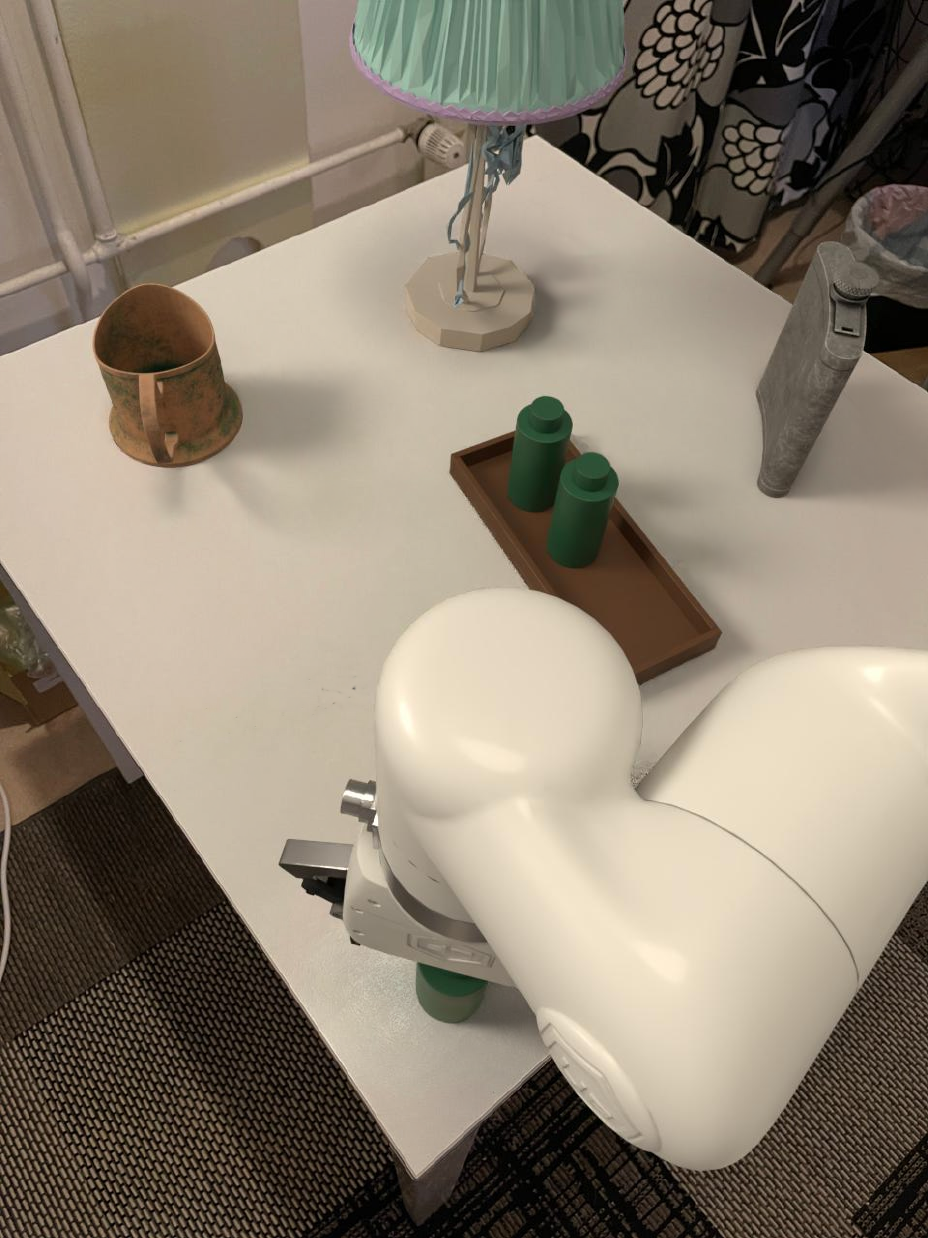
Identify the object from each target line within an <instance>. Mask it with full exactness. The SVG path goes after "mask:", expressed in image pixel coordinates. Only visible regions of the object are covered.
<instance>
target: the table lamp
mask: <svg viewBox="0 0 928 1238" xmlns="http://www.w3.org/2000/svg"><path fill="white" fill-rule="evenodd" d="M624 12H625V11H624V2H623V0H358V1H357V8H356V13H355V16H354V19H353V21H352V22H351V23H352V24H351V28H350V31H349V37H348V42H349V43H348V45H349V52H350V55H351V60H352V61H353V64H354V66H355V68H356V69H357V71H358V72H359V73H360V75H361V76H362V77H363V78H364V79H365V81H366V82H367V83H368V84H370V85H371V87H373V88H374V89H376V90H377V91H378V92H379V93H382V94H383V95H384V96H386V97H387V98H389V99H390V100H393V101H394V102H396V103H398V104H400V105H401V106H405V107H407V108H410V109H411V110H415V111H416V112H419V113H423V114H426V115H429V116H433V117H435V118H440V119H444V120H448V121H449V120H450V121H453V122H459V123H464V124H467V131H468V139H469V146H470V153H469V159H468V166H467V172H466V180H465V186H464V192H463V196H462V198H461V199H460V201H459V202H458V204H457V209H456V211H455V212H454V213H453V215H452V216H451V217H450V219H449V221H448V223H447V225H446V228H445V229H446V235H447V240H448V244H451V245H452V244H455V247H456V250H457V251H455V252H449V253H444V254H439V255H433V256H427V258H426V259H425V260H424V262H423V263H422V264H421V265H420V267H419V268H418V269H417V270H416V271H415V272H414V274H413V275H412V276H411V277H410V278H409V280H407V282H406V283H405V312H406V314H407V316H408V317H409V320H410V321H411V323H412V324H413V326H414V328H415V330H416V331H417V332H418V333H420V334H421V335H423V336H425V337H426V338H428V339H429V340H431V341H432V342H433V343H435V344H436V345H438V346H440V347H446V348H452V349H459V350H466V351H472V352H478V353H481V352H484V351H487V350H491V349H494V348H498V347H501V346H504V345H508V344H511V343H513V342H516V341H517V340H518V339H519V337H520V336H521V335H522V333H523V332H524V331H525V329H526V328H527V327H528V325H529V324H530V322H531V321H533V319H534V305H535V285H534V284H533V282H532V281H531V280H530V279H529V278H528V277H527V276H526V275H525V273H524V272H523V271H522V270H520V268H519V267H518V266H517V264H515V262H513V260H511V259H507V258H503V257H500V256H496V255H492V254H488V253H485V252H484V251H485V246H486V240H487V239H486V237H487V232H488V227H489V221H490V215H491V211H492V206H493V205H492V203H493V194H494V193H495V192H496V191H497V189H498V186H499V184H500V181H501V179H500V175H501V176H502V178H503V180H504V182H505V185H506V186H507V187H508V186H510V185H511V184H512V183H513V181H514V180H516V179H517V178H518V176H519V175H521V170H522V164H523V156H522V155H523V153H522V152H523V147H524V139H525V135H526V130H527V125H537V124H544V123H549V122H554V121H555V122H556V121H559V120H563V119H566V118H570V117H574V116H575V115H578V114H581V113H583V112H586V111H588V110H590V109H591V108H593V107H596V106H597V105H599V104H600V103H602V102H603V101H605V100H606V99H607V98H609V97H610V96H611V95H612V94H613V93H614V92H615V91H616V89H617V88H618V86H619V85H620V83H621V81H622V80H623V77H624V75H625V71H626V70H627V62H628V53H627V47H626V41H625V26H626V25H625V24H626V21H625V13H624ZM505 126H507V127H508V126H509V127H510V126H511V127H512V126H514V127H515V129H514V132H512V133H510V134H508V132H507V129H506V128H505ZM500 132H502V133H500ZM473 139H474V141H473ZM495 149H496V150H497V149H498V153H496V152H494V151H493V150H495ZM486 164H487V165H486ZM486 166H487V168H486ZM486 175H487V180H486V181H487V183H486V185H485V177H486ZM462 211H463V212H462ZM461 212H462V218H461V223H460V231H459V240H458V239H452V231H453V224H454V222H455V220H456V218H457V217H458V215H459V214H460V213H461Z"/></svg>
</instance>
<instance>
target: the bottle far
mask: <svg viewBox="0 0 928 1238" xmlns="http://www.w3.org/2000/svg"><path fill="white" fill-rule="evenodd" d="M573 428H574V423H573V418H572V416H571V415H570V413H569V412H568V411H567V410H566V409H565V406H564V404H563V403H562V401H560V400H559V399H558V398H557V397H553V396H550V395H542V396H539V397H538V396H537V397H536V398H535V399H533V400H532V402H531V403H530V404H528V405H526V406H524V407H523V408H522V409H521V410H520V412H519V413H518V415H517V418H516V423H515V430H514V431H515V437H514V444H513V451H512V459H511V466H510V473H509V480H508V487H507V494H508V497H509V499H510V501H511V502H512V503H513V504H514V505H515V506H516V507H518V508H519V509H522V510H524V511H528V512H541V511H545V510H547V509H549V508H551V507H552V506H553V505H554V504H555V499H556V494H557V489H558V485H559V480H560V475H561V471H562V469H563V468H564V465H565V461H566V456H567V451H568V447H569V442H570V441H571V438H572V437H571V436H572V433H573Z"/></svg>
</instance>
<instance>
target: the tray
mask: <svg viewBox="0 0 928 1238" xmlns="http://www.w3.org/2000/svg"><path fill="white" fill-rule="evenodd" d="M514 437H515V430H513V431H510V432H507V433H504V434H502V435H499V436H497V437H493V438H490V439H488V440H485V441H483V442H480V443H477V444H474V445H471V446H469V447H466V448H463V449H461V450H458V451H454V452H452V453H451V454H450V460H449V474H450V475H451V477H452V478H453V479H454V482H456V484H457V486H458V487H459V488H460V490H461V491H462V493H463V494H464V495H465V497H466V499H467V500H468V502H469V503H470V505H471V506H472V507H473V509H474V510H475V511H476V513H477V514H478V516H479V517H480V519H481V521H482V522H483V523H484V525H485V526H486V527H487V529H488V531H489V532H490V534H491V535H492V536H493V538H494V539H495V541H496V542H497V544H498V545H499V546H500V548H501V549H502V551H503V553H504V554H505V555H506V557H507V558H508V560H509V561H510V563H511V564H512V565H513V567H514V568H515V570H516V571H517V572H518V574H519V576H520V577H521V578H522V580H523V582H524V583H525V584H526V586H527V588H528V589H529V590H535V591H539V592H542V593H546V594H549V595H552V596H555V597H558V598H560V599H562V600H564V601H566V602H568V603H570V604H572V605H574V606H576V607H578V608H579V609H581V610H582V611H584V612H585V613H587V614H588V615H590V616H591V617H592V618H594V619H595V620H596V621H597V622H598V623H599V624H601V625H602V626H603V627H604V628H605V629H606V630H607V631H608V632H609V633H610V634H611V635H612V637H613V638H614V639H615V641H616V642H617V643H618V645H619V646H620V647H621V649H622V650H623V652H624V654H625V655H626V657H627V659H628V661H629V663H630V665H631V667H632V669H633V672H634V675H635V678H636V681H637V684H638V686H640V685H641V684H644V683H645V682H648V681H650V680H652V679H654V678H656V677H658V676H660V675H662V674H664V673H666V672H669V671H670V670H672V669H674V668H677V667H678V666H679V667H680V666H681V665H683V664H685V663H687V662H689V661H691V660H693V659H695V658H697V657H699V656H702V655H703V654H705V653H708V652H710V651H712V650H713V649H715V647H716V646H717V644H718V642H719V640H720V639H721V637H722V635H723V633H724V632H723V630H722V629H720V626H719V625H717V623H716V622H715V621H714V620H713V618H712V617H711V616H710V613H708V612H707V611H706V609H705V608H704V607H703V606H702V604H701V603H700V601H698V599H697V598H696V597H695V595H694V594H693V593H692V592H691V590H690V589H689V588H688V587H687V586H686V584H685V583H684V581H683V580H682V579H681V577H679V575H678V574H677V573H676V571H675V570H674V569H673V568H672V566H671V565H670V564H669V562H668V561H667V560H666V559H665V558H664V556H663V555H662V554H661V553H660V551H659V550H658V549H657V548H656V546H655V545H654V544H653V543H652V542H651V540H650V539H649V537H648V536H647V535H646V533H645V532H644V531H643V530H642V529H641V527H640V526H639V525H638V524H637V522H636V521H635V520H634V519H633V518H632V517H633V516H631V515H630V514H629V512H628V511H627V510H626V509H625V507H624V506H623V505H622V504H621V502H620V501H619V500H618V498H617V497H616V496H615V499H614V502H613V506H612V509H611V513H610V516H609V519H608V523H607V526H606V530H605V533H604V536H603V540H602V543H601V547H600V550H599V553H598V556H597V558H596V559H595V560H594V561H593V562H592V563H591V564H589V565H587V566H585V567H581V568H569V567H565V566H562V565H560V564H558V563H557V562H556V561H554V560H553V559H552V558H551V556H550V555H549V553H548V551H547V548H546V542H547V537H548V532H549V527H550V523H551V518H552V513H553V508H554V505H553V506H552V507H551V508H549V509H547V510H545V511H541V512H528V511H524V510H522V509H519V508H518V507H516V506H515V505H514V504H513V503H512V502H511V501H510V499H509V497H508V494H507V487H508V480H509V473H510V466H511V459H512V451H513V444H514ZM582 454H583V453H581V451H580V450H579V449H578V448H577V447H576V445H575V444H574V443H573V442H572V440H570V442H569V447H568V451H567V456H566V461H565V465H566V464H567V463H569V462H570V461H572V460H574V459H577V458H578V457H579V456H580V455H582ZM565 465H564V466H565Z"/></svg>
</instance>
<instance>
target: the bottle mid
mask: <svg viewBox="0 0 928 1238" xmlns="http://www.w3.org/2000/svg"><path fill="white" fill-rule="evenodd" d="M581 454H582V455H580V456H579V457H578V458H577V459H574V460H572V461H570V462H569V463H567V464H566V465H565V466H564V468H563V469H562V471H561V475H560V480H559V485H558V489H557V494H556V499H555V504H554V508H553V513H552V518H551V523H550V527H549V532H548V537H547V542H546V548H547V551H548V553H549V555H550V556H551V558H552V559H553V560H554V561H556V562H557V563H558V564H560V565H562V566H565V567H569V568H581V567H585V566H587V565H589V564H591V563H592V562H593V561H594V560H595V559H596V558H597V556H598V553H599V550H600V547H601V543H602V540H603V536H604V533H605V530H606V526H607V523H608V519H609V516H610V513H611V509H612V506H613V502H614V499H615V497H616V496H617V492H618V488H619V484H620V481H619V477H618V474H617V472H616V471H615V468H613V467H612V466H611V463H610V461H609V459H608V458H607V457H605V456H604V455H603V454H601V453H598V452H594V451H593V452H592V451H589V452H588V451H587V452H583V453H581Z"/></svg>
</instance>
